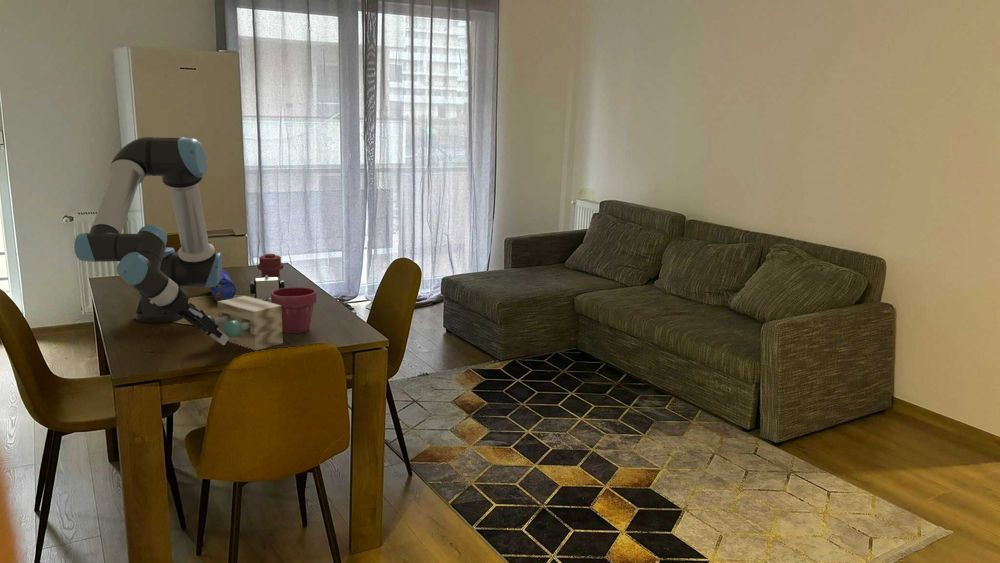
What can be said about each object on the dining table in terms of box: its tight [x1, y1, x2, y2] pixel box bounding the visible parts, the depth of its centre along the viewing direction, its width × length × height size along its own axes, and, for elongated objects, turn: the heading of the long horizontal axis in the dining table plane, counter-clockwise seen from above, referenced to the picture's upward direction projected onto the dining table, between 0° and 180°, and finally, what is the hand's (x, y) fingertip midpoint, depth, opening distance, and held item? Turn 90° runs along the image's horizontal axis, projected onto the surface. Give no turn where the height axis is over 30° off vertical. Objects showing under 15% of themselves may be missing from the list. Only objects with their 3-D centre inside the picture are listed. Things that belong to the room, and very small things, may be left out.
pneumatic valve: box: [249, 276, 286, 303], centre depth 278 cm, size 6×12×12 cm, turn 110°
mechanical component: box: [257, 253, 284, 279], centre depth 313 cm, size 12×10×10 cm
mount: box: [216, 295, 284, 351], centre depth 240 cm, size 10×18×12 cm, turn 54°
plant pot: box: [271, 286, 317, 334], centre depth 254 cm, size 14×14×13 cm
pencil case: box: [209, 269, 237, 302], centre depth 293 cm, size 22×9×10 cm, turn 25°
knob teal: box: [223, 320, 250, 338], centre depth 233 cm, size 12×5×5 cm, turn 144°
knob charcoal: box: [198, 315, 230, 334], centre depth 237 cm, size 12×5×5 cm, turn 144°
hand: (225, 341), depth 228 cm, fingers closed
